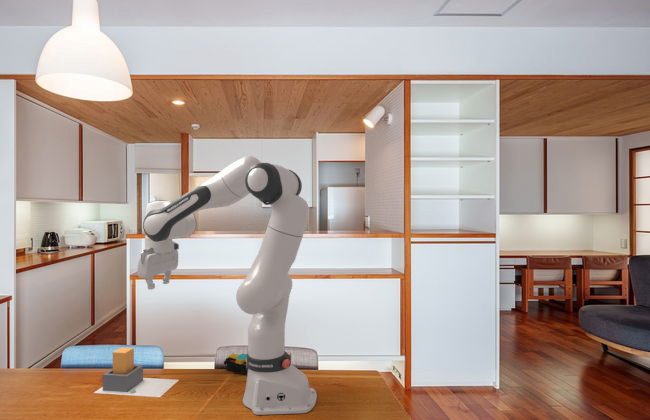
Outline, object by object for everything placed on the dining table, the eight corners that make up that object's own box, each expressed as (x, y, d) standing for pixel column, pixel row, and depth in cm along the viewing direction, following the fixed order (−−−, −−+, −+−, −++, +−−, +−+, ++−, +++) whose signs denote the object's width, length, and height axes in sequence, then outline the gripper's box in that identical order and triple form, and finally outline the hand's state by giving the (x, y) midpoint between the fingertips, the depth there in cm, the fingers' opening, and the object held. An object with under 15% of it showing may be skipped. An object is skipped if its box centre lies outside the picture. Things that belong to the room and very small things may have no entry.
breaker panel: (179, 382, 131) (179, 365, 131) (159, 400, 119) (159, 380, 119) (118, 379, 134) (118, 361, 134) (93, 396, 122) (93, 376, 122)
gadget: (256, 380, 136) (258, 365, 135) (221, 371, 138) (223, 356, 138) (263, 373, 142) (265, 358, 142) (230, 364, 145) (232, 349, 144)
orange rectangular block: (133, 369, 129) (133, 348, 129) (125, 374, 125) (125, 353, 125) (121, 368, 130) (121, 347, 130) (112, 374, 125) (112, 352, 125)
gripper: (150, 250, 126) (150, 293, 126) (181, 244, 147) (181, 281, 147) (132, 249, 127) (132, 292, 127) (165, 243, 147) (165, 280, 148)
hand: (158, 286), depth 137 cm, fingers open, 8 cm apart
